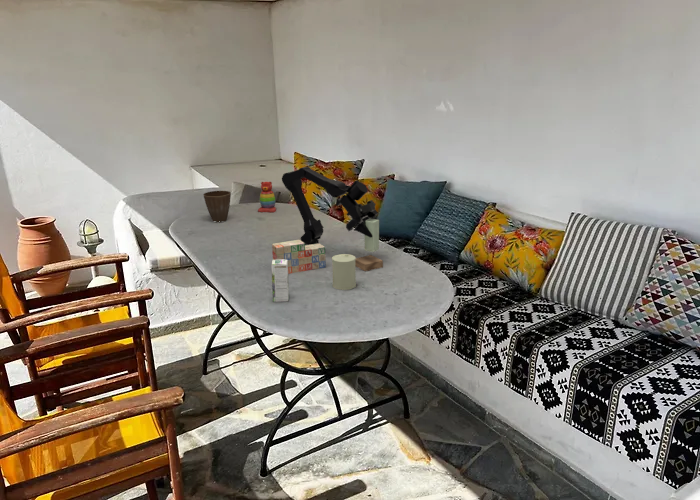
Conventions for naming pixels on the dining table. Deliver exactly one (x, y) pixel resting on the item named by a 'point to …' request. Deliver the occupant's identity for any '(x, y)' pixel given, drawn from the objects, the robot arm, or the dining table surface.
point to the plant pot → (218, 204)
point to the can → (344, 271)
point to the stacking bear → (267, 198)
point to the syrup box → (280, 280)
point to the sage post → (372, 242)
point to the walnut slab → (368, 263)
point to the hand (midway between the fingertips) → (374, 235)
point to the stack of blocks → (300, 255)
